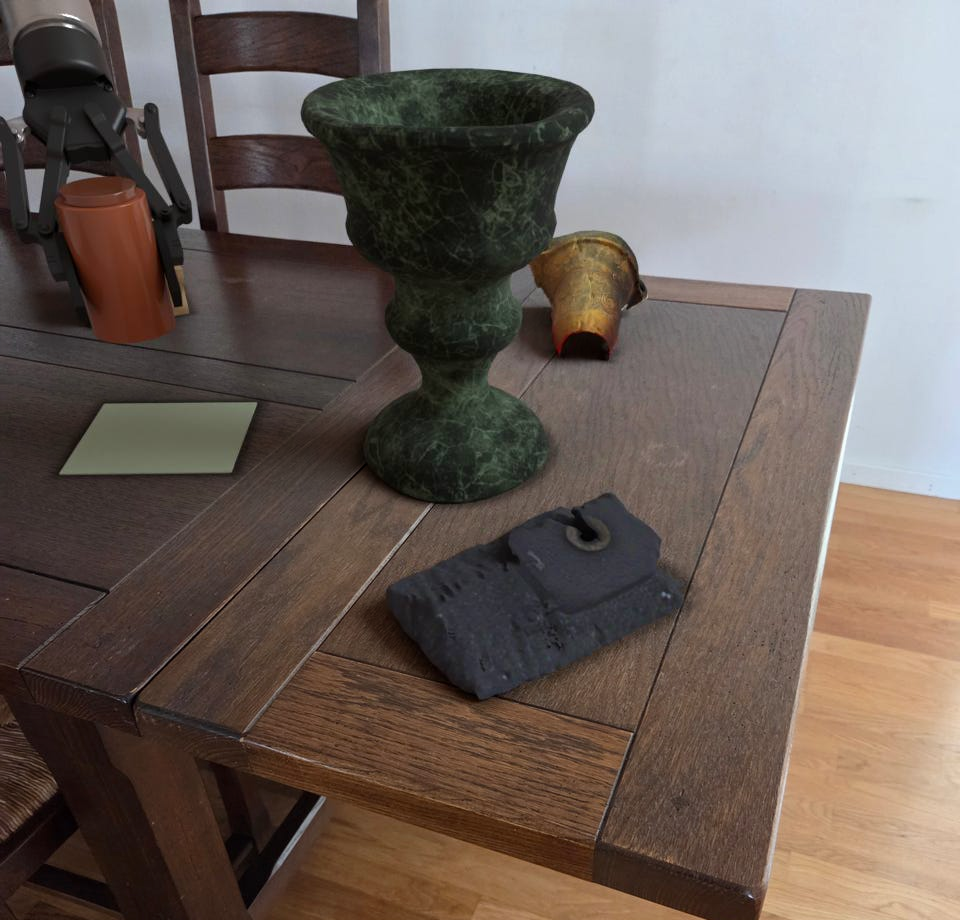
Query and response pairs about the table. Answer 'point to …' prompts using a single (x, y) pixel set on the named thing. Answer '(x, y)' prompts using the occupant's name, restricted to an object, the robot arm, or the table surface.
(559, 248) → the pot
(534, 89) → the goblet
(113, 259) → the canister
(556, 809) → the table surface
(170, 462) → the mat
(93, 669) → the table surface
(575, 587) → the grey block with grommet
